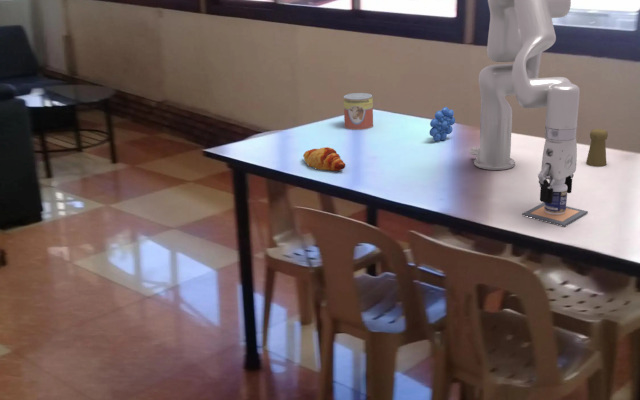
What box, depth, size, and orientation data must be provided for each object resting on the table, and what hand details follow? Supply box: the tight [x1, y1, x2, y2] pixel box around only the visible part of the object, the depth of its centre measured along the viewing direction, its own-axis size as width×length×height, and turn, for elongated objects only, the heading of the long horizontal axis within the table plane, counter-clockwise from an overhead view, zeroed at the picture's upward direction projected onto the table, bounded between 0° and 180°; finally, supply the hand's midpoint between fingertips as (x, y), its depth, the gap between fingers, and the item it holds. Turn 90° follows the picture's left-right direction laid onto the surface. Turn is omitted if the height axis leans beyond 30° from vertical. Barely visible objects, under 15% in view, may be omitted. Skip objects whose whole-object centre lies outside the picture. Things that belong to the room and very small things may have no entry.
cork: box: [585, 128, 609, 168], centre depth 230 cm, size 6×6×11 cm
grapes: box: [429, 106, 456, 142], centre depth 262 cm, size 12×7×12 cm, turn 124°
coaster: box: [521, 202, 589, 227], centre depth 193 cm, size 12×12×1 cm
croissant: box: [303, 146, 346, 172], centre depth 241 cm, size 21×10×8 cm, turn 38°
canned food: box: [342, 92, 374, 131], centre depth 286 cm, size 11×11×12 cm
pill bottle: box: [544, 175, 568, 215], centre depth 191 cm, size 5×5×10 cm
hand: (555, 197), depth 192 cm, fingers open, 9 cm apart
